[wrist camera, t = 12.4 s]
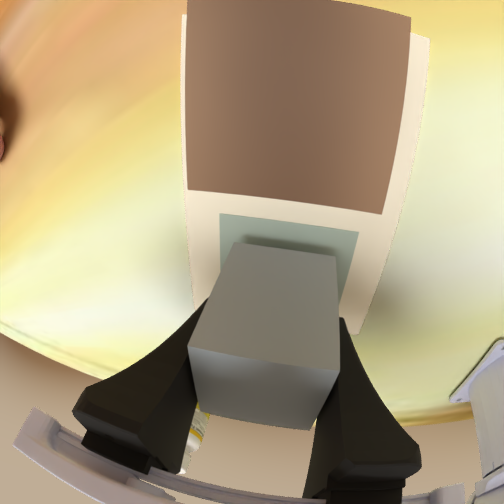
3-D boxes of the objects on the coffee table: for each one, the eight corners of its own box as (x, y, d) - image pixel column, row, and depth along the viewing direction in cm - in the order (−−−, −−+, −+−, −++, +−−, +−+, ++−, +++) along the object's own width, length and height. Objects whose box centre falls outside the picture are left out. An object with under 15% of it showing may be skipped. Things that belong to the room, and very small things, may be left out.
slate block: (335, 256, 13) (340, 370, 8) (317, 327, 15) (309, 430, 10) (233, 242, 13) (187, 345, 8) (233, 314, 16) (200, 411, 11)
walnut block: (364, 44, 9) (410, 17, 4) (352, 150, 11) (381, 214, 6) (246, 32, 9) (187, -1, 4) (242, 137, 12) (187, 190, 7)
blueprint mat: (429, 39, 8) (430, 38, 8) (358, 333, 17) (358, 335, 17) (183, 14, 9) (181, 14, 9) (195, 308, 18) (194, 310, 18)
